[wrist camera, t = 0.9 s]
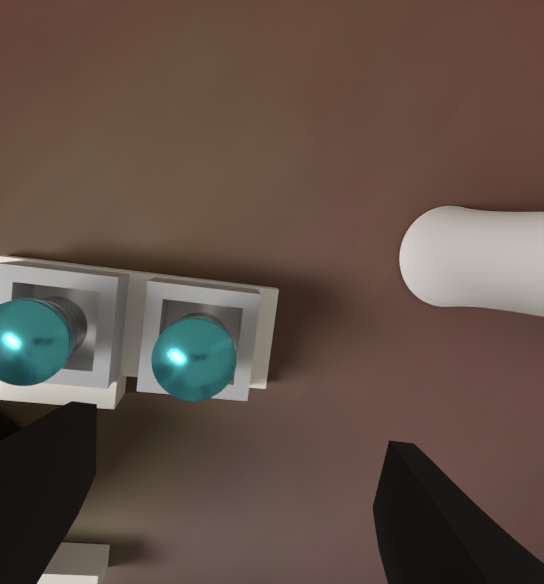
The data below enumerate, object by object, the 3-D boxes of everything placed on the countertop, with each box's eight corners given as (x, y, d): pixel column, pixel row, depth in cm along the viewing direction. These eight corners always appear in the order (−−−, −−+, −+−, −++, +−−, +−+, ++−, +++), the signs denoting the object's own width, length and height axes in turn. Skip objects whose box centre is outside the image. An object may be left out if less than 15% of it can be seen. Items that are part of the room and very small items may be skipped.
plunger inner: (90, 365, 22) (64, 389, 18) (14, 358, 22) (-28, 381, 18) (96, 294, 22) (71, 305, 18) (19, 285, 21) (-22, 295, 18)
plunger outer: (230, 379, 23) (231, 404, 19) (159, 372, 22) (147, 397, 19) (238, 310, 22) (241, 323, 19) (167, 302, 22) (155, 314, 18)
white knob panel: (239, 573, 28) (240, 620, 24) (-127, 557, 25) (-183, 608, 22) (276, 287, 26) (284, 295, 22) (-115, 240, 23) (-174, 240, 20)
